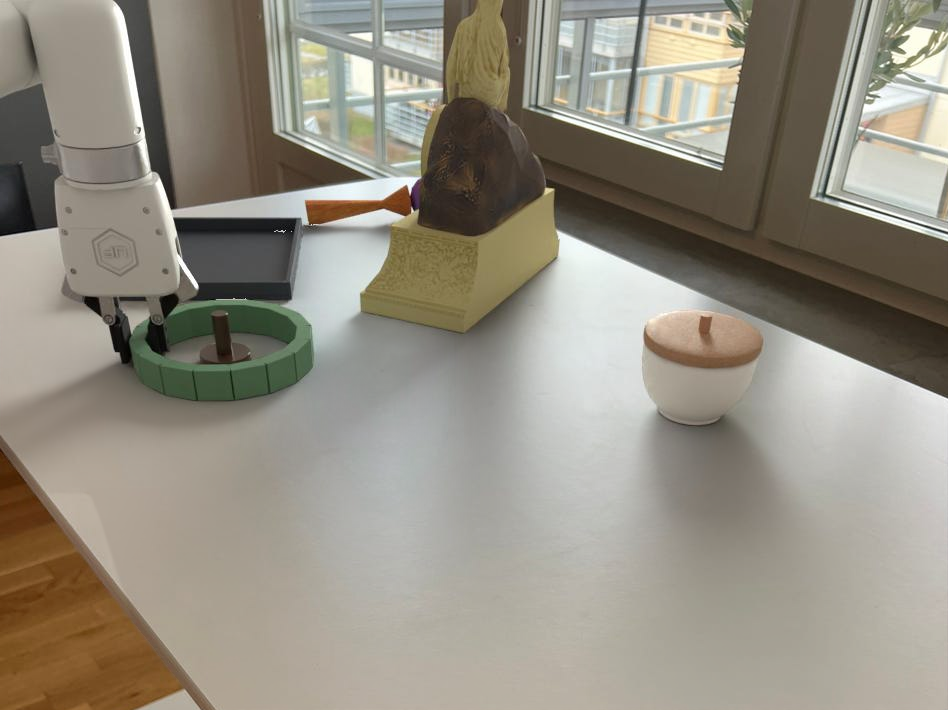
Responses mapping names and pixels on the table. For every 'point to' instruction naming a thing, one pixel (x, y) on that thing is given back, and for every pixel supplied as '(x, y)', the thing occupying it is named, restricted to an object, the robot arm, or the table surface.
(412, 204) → the kendama
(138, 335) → the ring
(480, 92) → the statue on pedestal
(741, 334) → the trinket box
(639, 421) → the table surface
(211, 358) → the peg stand
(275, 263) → the tray
